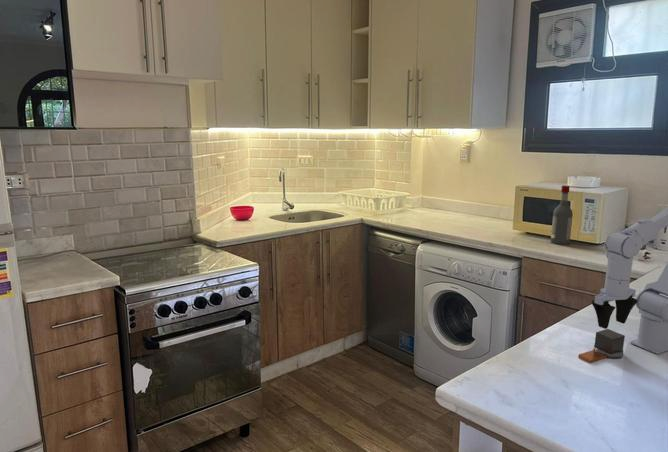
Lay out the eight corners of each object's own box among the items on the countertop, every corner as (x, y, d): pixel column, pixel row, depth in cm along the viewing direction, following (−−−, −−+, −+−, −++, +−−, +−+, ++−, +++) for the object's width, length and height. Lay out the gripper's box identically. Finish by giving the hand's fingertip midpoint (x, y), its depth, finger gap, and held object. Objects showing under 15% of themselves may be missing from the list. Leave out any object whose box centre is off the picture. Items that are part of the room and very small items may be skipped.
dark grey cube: (605, 343, 140) (607, 328, 139) (622, 350, 136) (624, 335, 135) (594, 347, 138) (596, 332, 137) (611, 354, 134) (613, 339, 133)
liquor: (569, 241, 262) (575, 185, 256) (569, 245, 254) (575, 187, 248) (550, 239, 266) (556, 184, 259) (550, 243, 258) (555, 186, 251)
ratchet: (604, 345, 142) (605, 333, 141) (628, 355, 136) (630, 343, 135) (572, 355, 136) (573, 342, 135) (596, 366, 130) (598, 353, 129)
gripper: (620, 269, 139) (614, 315, 142) (586, 277, 133) (581, 324, 136) (645, 276, 133) (639, 323, 136) (611, 284, 127) (605, 334, 130)
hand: (611, 324), depth 135 cm, fingers open, 7 cm apart
